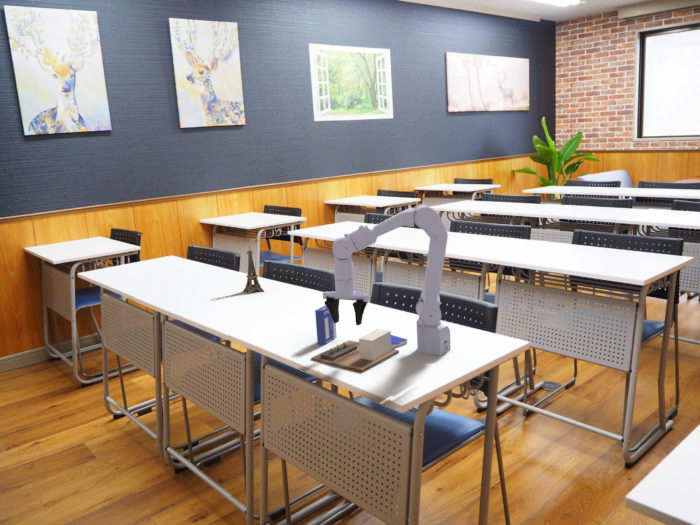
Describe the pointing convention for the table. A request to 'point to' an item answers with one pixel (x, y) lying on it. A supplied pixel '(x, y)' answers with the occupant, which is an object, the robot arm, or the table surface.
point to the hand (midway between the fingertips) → (347, 323)
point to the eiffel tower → (252, 276)
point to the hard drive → (397, 341)
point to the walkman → (325, 326)
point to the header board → (350, 357)
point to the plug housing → (375, 344)
